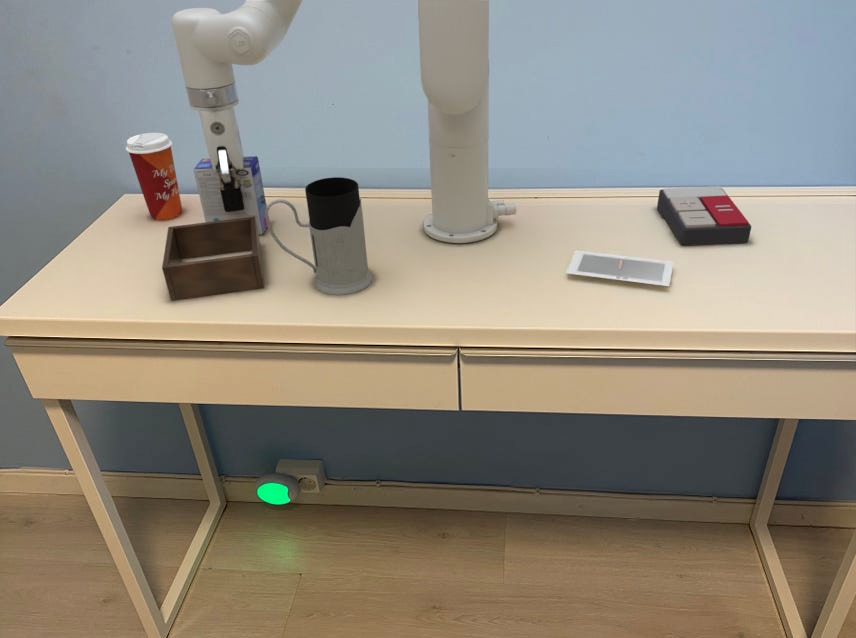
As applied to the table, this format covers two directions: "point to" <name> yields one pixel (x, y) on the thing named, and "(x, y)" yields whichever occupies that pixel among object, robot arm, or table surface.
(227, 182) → the robot arm
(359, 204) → the glass holder
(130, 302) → the table surface
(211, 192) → the ink cartridge box
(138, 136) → the paper cup
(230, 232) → the desk bin
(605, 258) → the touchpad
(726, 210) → the calculator
